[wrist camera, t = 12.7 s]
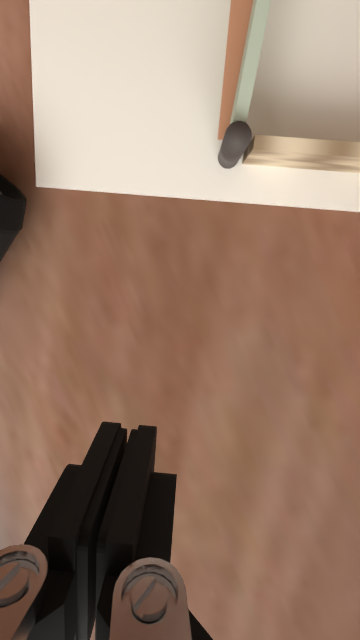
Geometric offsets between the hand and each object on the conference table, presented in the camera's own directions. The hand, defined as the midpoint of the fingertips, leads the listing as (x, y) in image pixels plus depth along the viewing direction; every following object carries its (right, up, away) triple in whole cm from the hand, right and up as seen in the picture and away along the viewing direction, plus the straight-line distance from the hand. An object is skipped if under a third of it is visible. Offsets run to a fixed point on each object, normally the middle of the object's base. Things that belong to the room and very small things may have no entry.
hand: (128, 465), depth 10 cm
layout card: (+5, +30, +20) cm, 36 cm away
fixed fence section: (+13, +20, +22) cm, 32 cm away
